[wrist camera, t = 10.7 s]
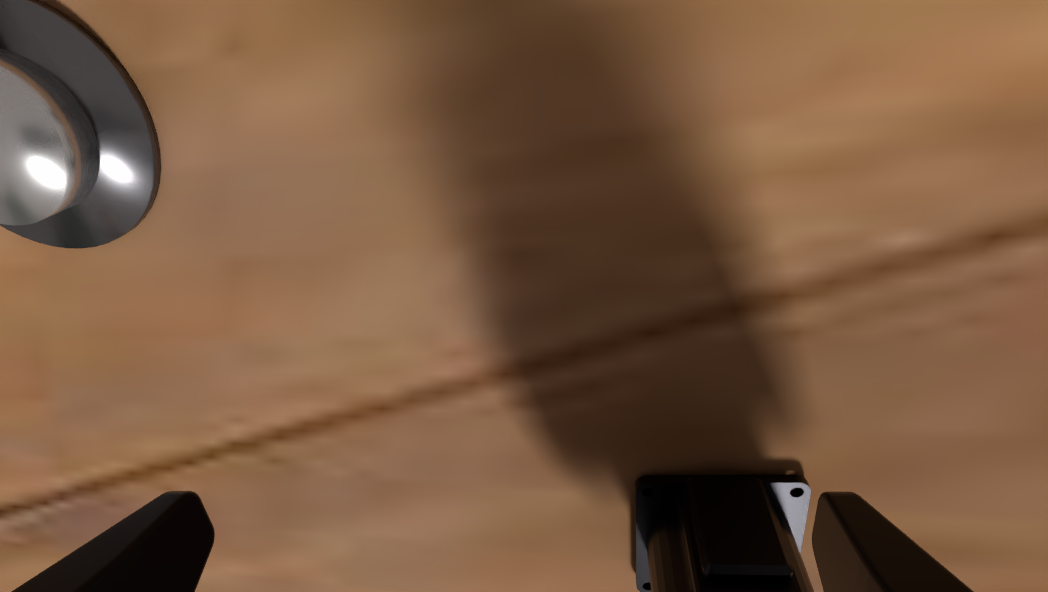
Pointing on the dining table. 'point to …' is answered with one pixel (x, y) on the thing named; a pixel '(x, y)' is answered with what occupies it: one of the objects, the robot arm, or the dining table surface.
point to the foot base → (114, 113)
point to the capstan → (41, 144)
